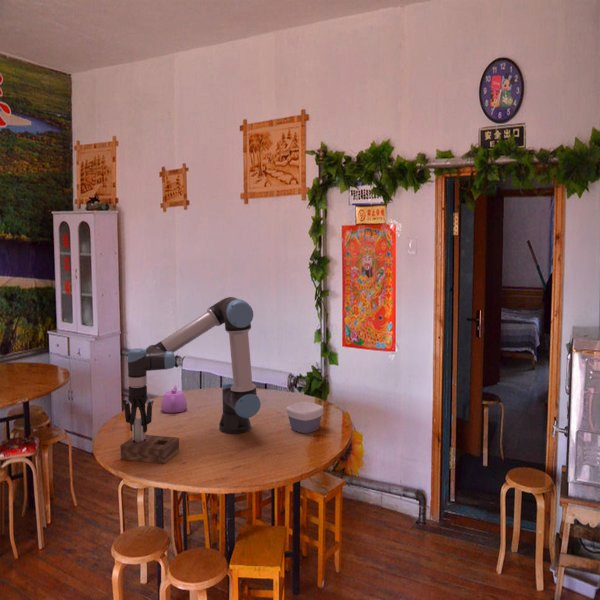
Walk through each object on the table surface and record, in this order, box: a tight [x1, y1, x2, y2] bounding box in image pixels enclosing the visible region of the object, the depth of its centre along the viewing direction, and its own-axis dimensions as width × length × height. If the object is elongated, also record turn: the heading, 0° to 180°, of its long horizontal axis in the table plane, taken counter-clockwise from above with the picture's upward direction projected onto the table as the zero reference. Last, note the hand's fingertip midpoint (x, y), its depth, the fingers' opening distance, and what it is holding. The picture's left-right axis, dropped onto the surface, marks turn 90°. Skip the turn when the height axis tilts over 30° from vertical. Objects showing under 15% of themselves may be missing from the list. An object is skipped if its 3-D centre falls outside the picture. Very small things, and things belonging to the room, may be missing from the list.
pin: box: [134, 417, 143, 443], centre depth 254 cm, size 3×3×14 cm
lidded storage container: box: [286, 401, 324, 434], centre depth 286 cm, size 15×15×11 cm
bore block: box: [119, 434, 180, 465], centre depth 253 cm, size 20×14×6 cm
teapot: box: [160, 384, 188, 414], centre depth 315 cm, size 13×20×11 cm
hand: (139, 438), depth 254 cm, fingers closed on pin, 3 cm apart
